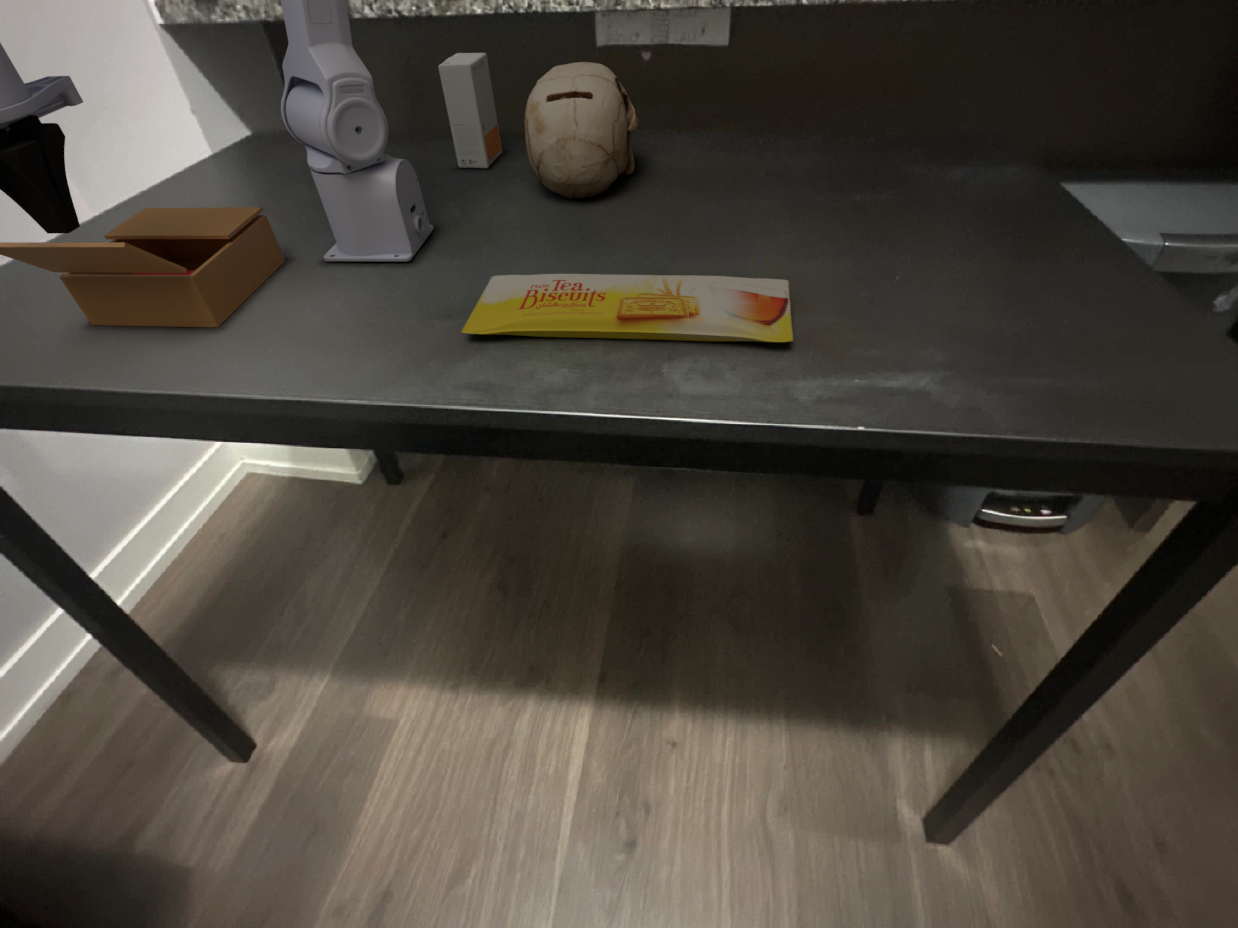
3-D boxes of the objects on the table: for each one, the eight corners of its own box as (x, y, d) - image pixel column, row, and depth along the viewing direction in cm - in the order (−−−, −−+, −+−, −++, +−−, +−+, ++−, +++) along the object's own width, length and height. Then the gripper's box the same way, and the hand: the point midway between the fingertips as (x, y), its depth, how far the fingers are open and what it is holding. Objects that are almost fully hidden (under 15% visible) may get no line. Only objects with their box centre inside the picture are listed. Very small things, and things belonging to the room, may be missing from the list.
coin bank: (603, 142, 92) (598, 29, 82) (676, 195, 82) (679, 75, 72) (498, 174, 87) (478, 59, 77) (561, 235, 78) (548, 112, 67)
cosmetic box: (489, 169, 88) (469, 64, 80) (458, 168, 89) (435, 65, 81) (504, 152, 92) (487, 51, 84) (474, 152, 93) (455, 52, 85)
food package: (456, 321, 56) (489, 264, 64) (462, 344, 58) (494, 286, 65) (795, 329, 52) (790, 267, 60) (792, 354, 54) (787, 291, 61)
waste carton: (285, 260, 72) (262, 206, 68) (218, 327, 62) (187, 268, 58) (173, 260, 73) (144, 207, 70) (91, 325, 64) (53, 268, 60)
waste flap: (124, 242, 52) (124, 247, 52) (187, 268, 59) (186, 273, 59) (-22, 242, 54) (-23, 247, 54) (54, 267, 60) (54, 272, 60)
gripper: (-26, 10, 51) (82, 193, 60) (-224, 60, 40) (-57, 272, 50) (58, 7, 50) (154, 193, 59) (-123, 56, 39) (29, 273, 49)
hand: (63, 229), depth 54 cm, fingers closed
